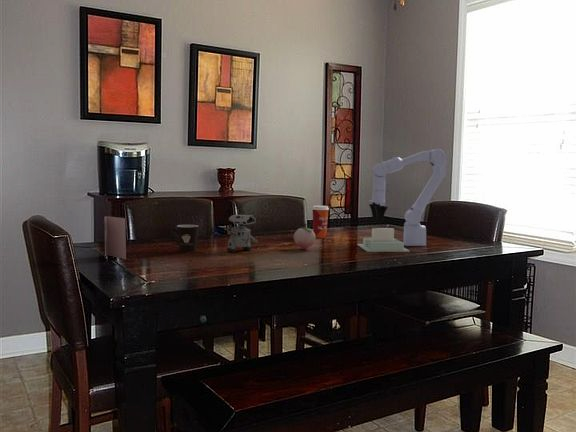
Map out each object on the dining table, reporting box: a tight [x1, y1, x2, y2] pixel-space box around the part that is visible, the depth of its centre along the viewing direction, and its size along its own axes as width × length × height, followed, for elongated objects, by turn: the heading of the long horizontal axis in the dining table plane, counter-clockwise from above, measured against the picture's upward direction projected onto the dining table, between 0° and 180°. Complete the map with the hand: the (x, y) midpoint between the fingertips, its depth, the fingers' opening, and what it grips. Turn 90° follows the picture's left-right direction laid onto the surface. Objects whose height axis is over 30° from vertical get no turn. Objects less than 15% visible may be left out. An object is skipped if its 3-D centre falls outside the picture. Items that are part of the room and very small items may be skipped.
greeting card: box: [102, 215, 127, 260], centre depth 200 cm, size 11×7×15 cm, turn 22°
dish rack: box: [357, 237, 410, 253], centre depth 235 cm, size 18×17×4 cm
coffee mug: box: [167, 224, 200, 253], centre depth 220 cm, size 12×9×10 cm
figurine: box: [226, 214, 261, 253], centre depth 219 cm, size 9×12×15 cm
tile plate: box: [371, 227, 395, 241], centre depth 234 cm, size 9×2×8 cm, turn 96°
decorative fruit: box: [293, 227, 317, 250], centre depth 228 cm, size 9×8×10 cm
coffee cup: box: [311, 205, 330, 239], centre depth 263 cm, size 8×8×15 cm
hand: (377, 220), depth 247 cm, fingers open, 7 cm apart
